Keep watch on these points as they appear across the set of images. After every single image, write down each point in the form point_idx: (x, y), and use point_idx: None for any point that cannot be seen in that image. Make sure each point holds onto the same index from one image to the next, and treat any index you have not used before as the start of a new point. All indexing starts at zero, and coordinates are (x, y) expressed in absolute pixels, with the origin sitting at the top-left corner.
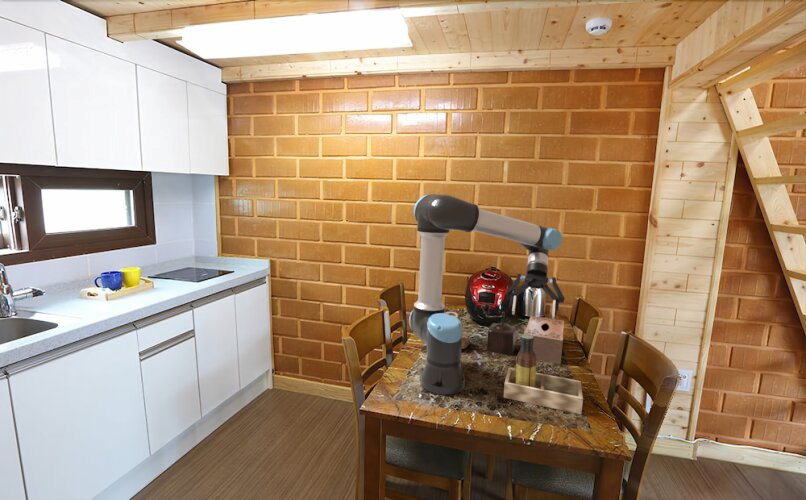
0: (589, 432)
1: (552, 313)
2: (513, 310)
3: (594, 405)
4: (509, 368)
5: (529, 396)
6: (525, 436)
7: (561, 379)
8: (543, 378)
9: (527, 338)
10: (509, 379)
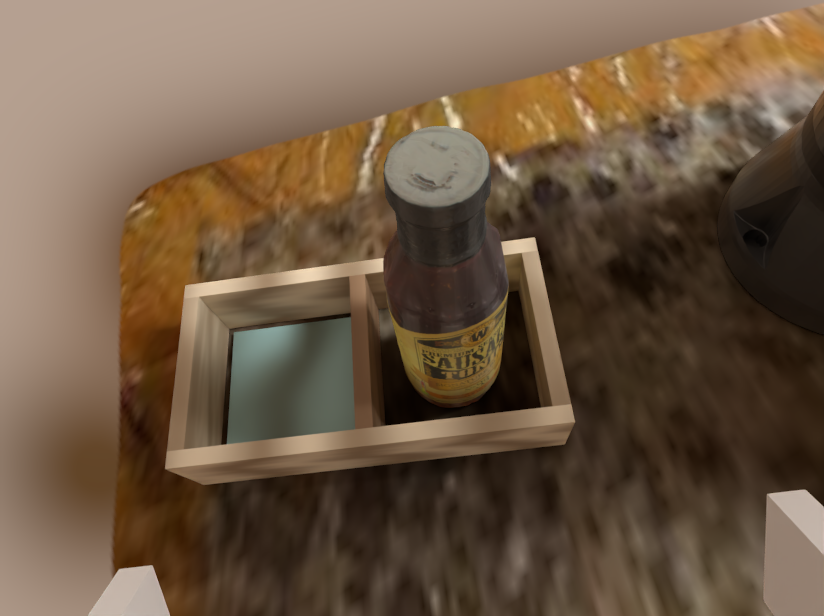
0: (205, 225)
1: (129, 600)
2: (788, 499)
3: (151, 420)
4: (566, 409)
5: None
6: (398, 111)
7: (267, 441)
8: (360, 388)
9: (426, 129)
10: (534, 332)
